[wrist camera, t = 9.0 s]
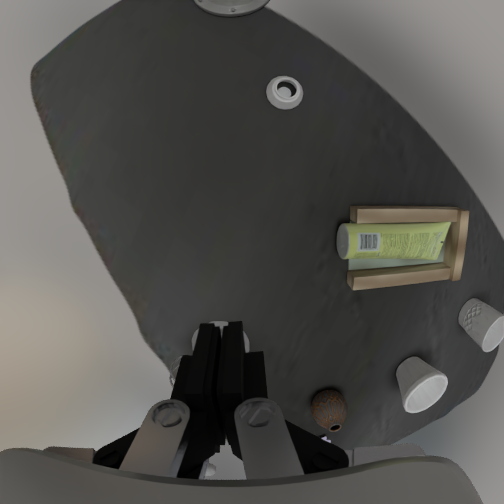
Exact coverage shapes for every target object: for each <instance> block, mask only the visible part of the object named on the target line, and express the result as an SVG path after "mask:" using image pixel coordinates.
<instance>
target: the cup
mask: <svg viewBox="0 0 504 504" xmlns="http://www.w3.org/2000/svg"><path fill="white" fill-rule="evenodd" d="M396 377H397V380H398V384H399V388H400V392H401V395H402V399H403V400H402V401H403V406H404V408H405V410H406V411H407V412H410V413H416V412H420V411H423V410H425V409H427V408H428V407H430V406H431V405H433V404H434V403H435V402H436V401H437V400H438V399H439V398H440V397H441V396H442V394H443V393H444V391H445V390H446V387H447V384H448V381H447V377H446V376H445V374H443V373H442V372H439V371H438V370H436V369H435V368H433V367H432V366H430V365H429V364H427V363H426V362H424V361H423V360H421V359H420V358H418V357H416V356H412V357H409V358H407V359H405V360H404V361H402V363H401V364H400V365H399V366H398V368H397V370H396Z"/></svg>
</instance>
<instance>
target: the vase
mask: <svg viewBox="0 0 504 504" xmlns="http://www.w3.org/2000/svg"><path fill="white" fill-rule="evenodd" d="M311 412H312V416H313V418H314V420H315V421H316V423H317V424H319V425H320V426H322V427H324V428H326V429H328V430H329V431H330V432H335V431H338V430H340V429H341V427H342V423H343V422H344V420H345V418H346V416H347V403H346V401H345V399H344V397H343V396H342V395H341V394H340V393H339V392H337V391H334V390H324V391H322V392H320V393H318V394H317V395H316V396H315V397H314V399H313V401H312V404H311Z"/></svg>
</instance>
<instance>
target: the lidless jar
mask: <svg viewBox="0 0 504 504" xmlns="http://www.w3.org/2000/svg"><path fill="white" fill-rule="evenodd" d="M280 82H289V83H291V84H292V85H294V87H295V88H296V94H295V95H294V96H292V97H290V96H291V91H290V90H289V89H288V88H287V87H281V88H279V89H278V91H277V85H278V83H280ZM266 94H267V98H268V100H269V101H270V103H271V104H272V105H274V106H275V107H277V108H279V109H284V110H286V109H292V108H294V107H296V106H298V104H299V103H300V102H301V100H302V97H303V90H302V87H301V85H300V84H299V82H298V81H296V80H295V79H293V78H292V77H288V76H278V77H276V78H274V79H272V80H271V81H270V83H269V84H268V86H267V90H266Z"/></svg>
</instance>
